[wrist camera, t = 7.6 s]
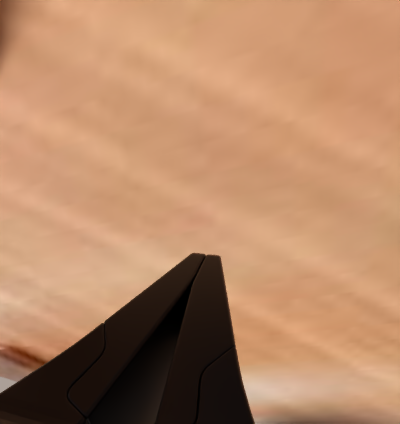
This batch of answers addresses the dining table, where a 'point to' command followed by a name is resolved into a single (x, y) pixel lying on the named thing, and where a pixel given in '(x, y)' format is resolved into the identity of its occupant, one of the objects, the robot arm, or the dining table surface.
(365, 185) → the dining table surface
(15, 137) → the dining table surface
